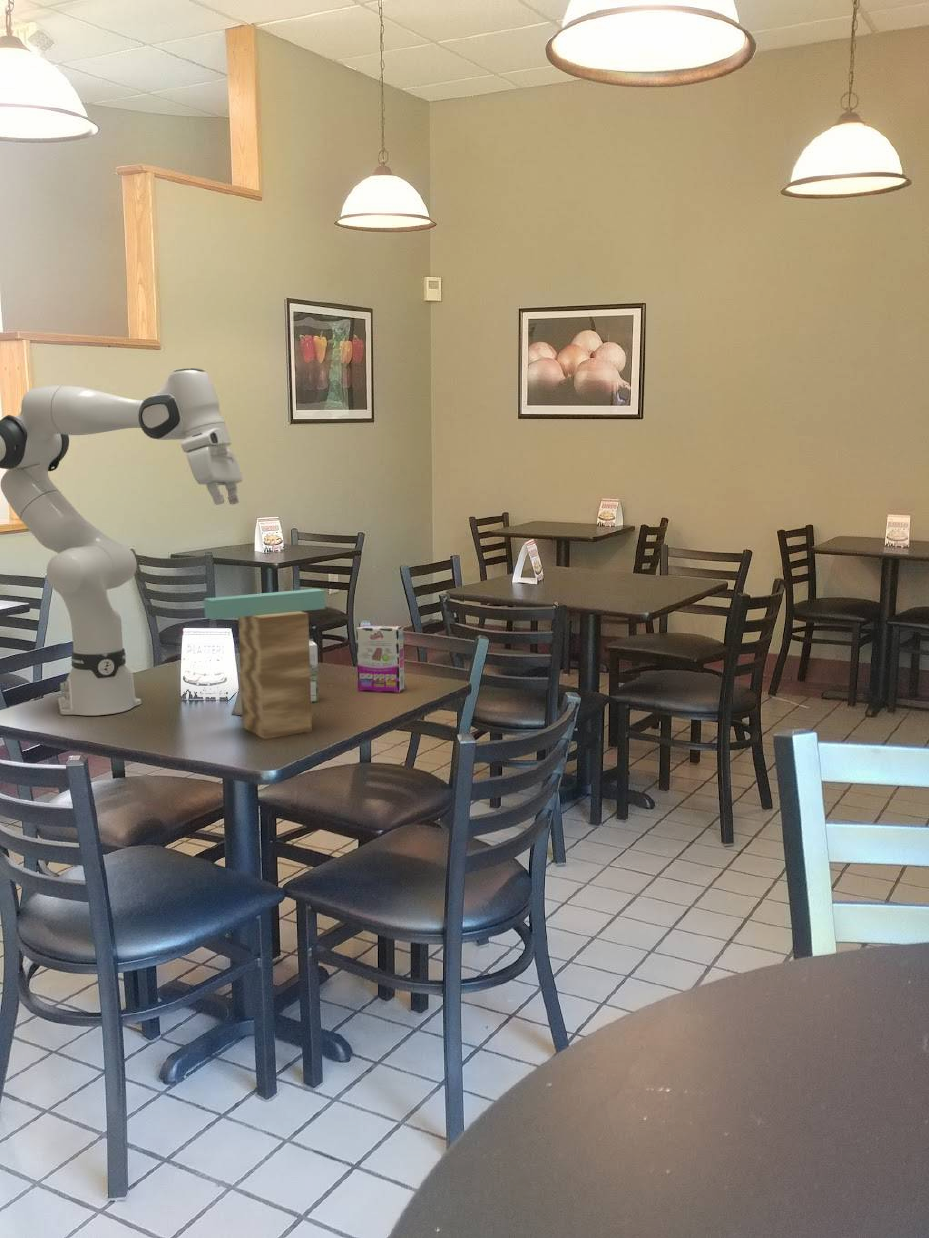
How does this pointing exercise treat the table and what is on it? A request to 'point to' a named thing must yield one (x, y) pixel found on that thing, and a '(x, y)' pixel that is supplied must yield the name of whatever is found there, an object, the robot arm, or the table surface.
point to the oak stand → (275, 674)
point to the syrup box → (313, 671)
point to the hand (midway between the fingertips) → (227, 504)
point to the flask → (238, 701)
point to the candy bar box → (380, 659)
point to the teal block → (264, 603)
